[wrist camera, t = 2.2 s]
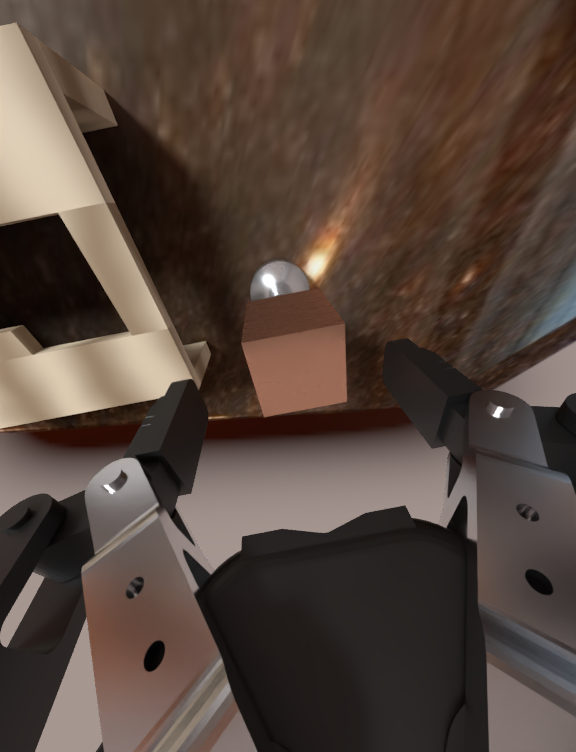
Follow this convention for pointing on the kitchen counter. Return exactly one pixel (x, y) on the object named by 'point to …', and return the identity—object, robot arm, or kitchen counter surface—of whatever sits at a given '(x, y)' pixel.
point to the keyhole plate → (94, 238)
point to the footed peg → (293, 341)
